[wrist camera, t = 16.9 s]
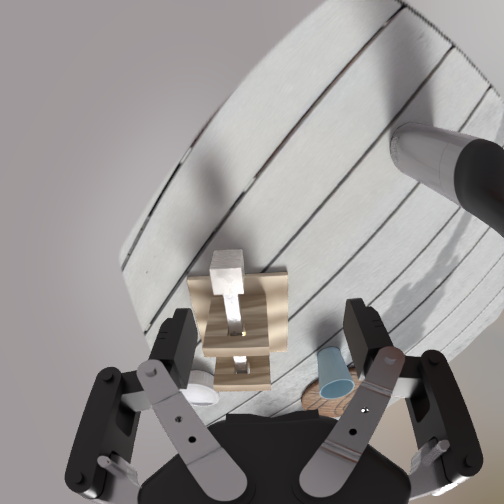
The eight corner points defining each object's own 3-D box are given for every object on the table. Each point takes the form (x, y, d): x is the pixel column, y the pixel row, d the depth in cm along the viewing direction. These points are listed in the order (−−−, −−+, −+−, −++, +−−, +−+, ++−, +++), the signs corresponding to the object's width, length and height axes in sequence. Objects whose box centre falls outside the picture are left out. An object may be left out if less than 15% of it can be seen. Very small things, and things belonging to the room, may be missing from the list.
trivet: (286, 408, 74) (286, 413, 72) (330, 359, 63) (331, 365, 61) (353, 414, 78) (354, 418, 76) (400, 369, 67) (402, 374, 65)
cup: (345, 359, 62) (355, 393, 53) (315, 367, 64) (321, 402, 54) (343, 340, 59) (354, 375, 50) (310, 348, 60) (317, 385, 51)
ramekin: (187, 392, 70) (185, 407, 65) (171, 368, 64) (167, 384, 60) (226, 389, 68) (225, 405, 64) (212, 364, 63) (210, 382, 59)
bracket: (188, 276, 51) (170, 329, 39) (287, 271, 50) (297, 325, 38) (206, 350, 60) (198, 401, 48) (286, 347, 60) (292, 399, 47)
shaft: (214, 250, 40) (209, 269, 35) (242, 248, 40) (240, 267, 35) (233, 367, 52) (232, 387, 48) (254, 366, 52) (254, 387, 48)
